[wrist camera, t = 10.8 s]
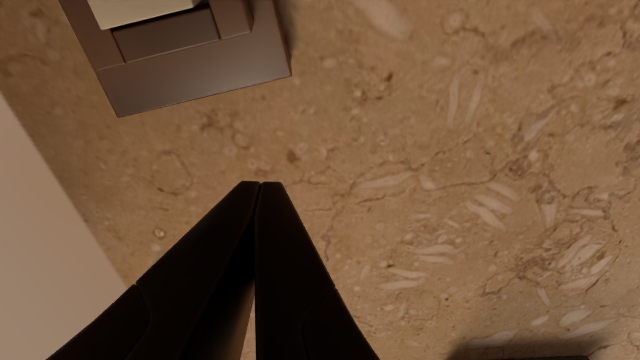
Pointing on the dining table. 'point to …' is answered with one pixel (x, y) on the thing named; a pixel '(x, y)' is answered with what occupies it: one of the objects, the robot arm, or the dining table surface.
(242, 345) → the robot arm
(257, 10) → the switch housing
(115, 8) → the key high
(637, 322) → the dining table surface
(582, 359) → the block low
